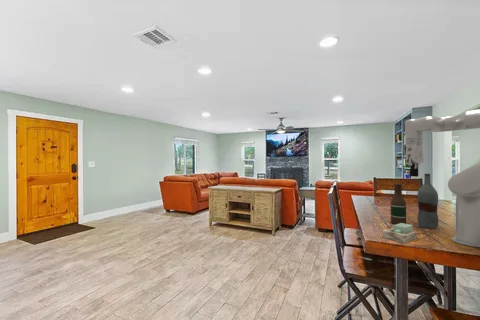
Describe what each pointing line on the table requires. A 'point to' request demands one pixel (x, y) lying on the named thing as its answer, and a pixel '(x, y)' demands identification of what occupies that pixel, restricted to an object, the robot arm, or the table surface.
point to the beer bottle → (398, 206)
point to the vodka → (427, 205)
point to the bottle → (403, 228)
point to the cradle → (399, 235)
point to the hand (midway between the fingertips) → (414, 176)
